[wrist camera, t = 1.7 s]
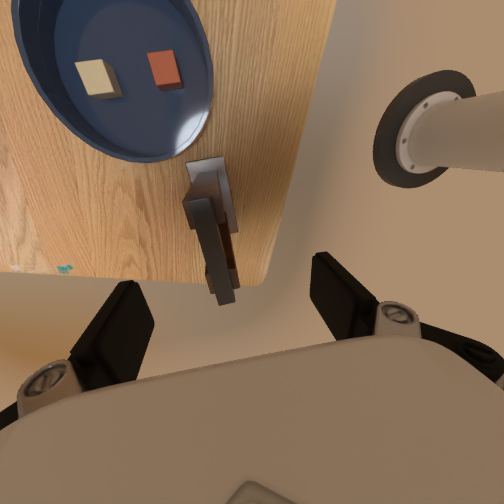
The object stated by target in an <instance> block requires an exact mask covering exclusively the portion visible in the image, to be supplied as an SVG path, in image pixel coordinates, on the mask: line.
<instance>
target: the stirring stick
mask: <svg viewBox="0 0 504 504" xmlns="http://www.w3.org/2000/svg"><path fill="white" fill-rule="evenodd" d="M187 202H188V206H189V209H190V212H191V216H192V219H193V222H194V225H195V229H196V232H197V235H198V239H199V242H200V245H201V249H202V252H203V255H204V258H205V262H206V265H207V268H208V272H209V275H210V278H211V281H212V285H213V288H214V291H215V295H216V298H217V301H218V305H219V306H221V305H225V304H229V303H234V302H235V295H234V289H233V285H232V281H231V277H230V273H229V269H228V265H227V261H226V257H225V253H224V248H223V244H222V240H221V236H220V232H219V228H218V224H217V220H216V216H215V212H214V208H213V203H212V199H211V195H210V193H205V194H200V195H194V196H190V197H189V199H188V201H187Z"/></svg>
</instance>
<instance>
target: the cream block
mask: <svg viewBox="0 0 504 504" xmlns="http://www.w3.org/2000/svg"><path fill="white" fill-rule="evenodd" d="M75 65H76V67H77V70H78V72H79V74H80V77H81V79H82V81H83V84H84V86H85V88H86V91H87V93H88V95H90V96H92V97H94V98H97V99H99V100H105V99H112V98H119V97H123V94H122V91H121V89H120V86H119V83H118V80H117V78H116V75H115V72H114V69H113V68H112V67H111V66H110V65H109V64H107V63H106V62H105V61H103V60H102V59H98V60H90V61H83V62H75Z"/></svg>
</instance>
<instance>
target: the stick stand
mask: <svg viewBox="0 0 504 504" xmlns="http://www.w3.org/2000/svg"><path fill="white" fill-rule="evenodd" d="M185 164H186V167H187V171H188V175H189V178H190V182H191V187H190V189H189V190H188V192H187V194H186V196H185V197H184V199H183V201H182V204H183V208H184V211H185V214H186V217H187V220H188V223H189V227H190V229H191V230H192V229H195V225H194V222H193V219H192V216H191V212H190V209H189V206H188V202H187V201H188V199H189V197H190V196H194V195H200V194H205V193H210V195H211V199H212V203H213V208H214V212H215V216H216V220H217V224H218V228H219V232H220V236H221V240H222V244H223V248H224V253H225V257H226V261H227V265H228V269H229V273H230V277H231V281H232V285H233V289H237V288H240V283H239V278H238V272H237V267H236V262H235V256H234V251H233V246H232V240H231V235H230V234H232V233H236V232H238V227H237V222H236V217H235V212H234V207H233V202H232V197H231V191H230V186H229V181H228V176H227V171H226V166H225V161H224V156H220V157H214V158H208V159H202V160H197V161H191V162H186V163H185ZM205 277H206V280H207V283H208V286H209V290H210V293H211V294H215V291H214V288H213V285H212V281H211V278H210V275H209V272H208V268H207V265H206V267H205Z"/></svg>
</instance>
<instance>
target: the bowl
mask: <svg viewBox="0 0 504 504" xmlns="http://www.w3.org/2000/svg"><path fill="white" fill-rule="evenodd" d="M11 13H12V21H13V28H14V36H15V40H16V43H17V46H18V49H19V52H20V55H21V58H22V61H23V64H24V66H25V69H26V71H27V73H28V75H29V76H30V78H31V80H32V82H33V84H34V86H35V88H36V90H37V92H38V93H39V95H40V96H41V97H42V99H43V100H44V101H45V103H46V104H47V105H48V107H49V108H50V110H51V111H52V112H53V114H54V115H55V116H56V117H57V118H58V119H59V120H60V121H61V122H62V123H63V124H64V125H65V126H66V127H67V128H68V129H69V130H70V131H71V132H72V133H73V134H75V135H76V136H77V137H79V138H80V139H82V140H83V141H84V142H86V143H87V144H88V145H90V146H91V147H93V148H95V149H97V150H99V151H101V152H103V153H105V154H107V155H109V156H111V157H114V158H118V159H121V160H125V161H128V162H138V163H152V162H158V161H164V160H167V159H171V158H173V157H176V156H178V155H180V154H182V153H184V152H185V151H187V150H188V149H189V148H190V147H192V146H193V145H194V144H195V143H196V142H197V140H198V139H199V138H200V136H201V135H202V133H203V132H204V130H205V128H206V126H207V123H208V120H209V118H210V114H211V109H212V103H213V66H212V60H211V55H210V50H209V44H208V41H207V38H206V35H205V32H204V29H203V27H202V24H201V21H200V18H199V16H198V14H197V12H196V10H195V8H194V7H193V5H192V3H191V1H190V0H12V1H11ZM166 50H173V52H174V54H175V56H176V59H177V62H178V66H179V70H180V74H181V78H182V82H183V87H184V88H180V89H174V90H167V91H161V90H160V89H159V88H158V87H157V85H156V83H155V80H154V76H153V73H152V69H151V66H150V63H149V59H148V56H147V53H151V52H159V51H166ZM98 59H102V60H103V61H105V62H106V63H107V64H109V65H110V66H111V67H112V68H113V69H114V72H115V75H116V78H117V80H118V83H119V86H120V89H121V91H122V94H123V97H119V98H112V99H105V100H99V99H97V98H94V97H92V96H90V95H88V93H87V91H86V88H85V86H84V84H83V81H82V79H81V77H80V74H79V72H78V70H77V67H76V65H75V62H83V61H90V60H98Z"/></svg>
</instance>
